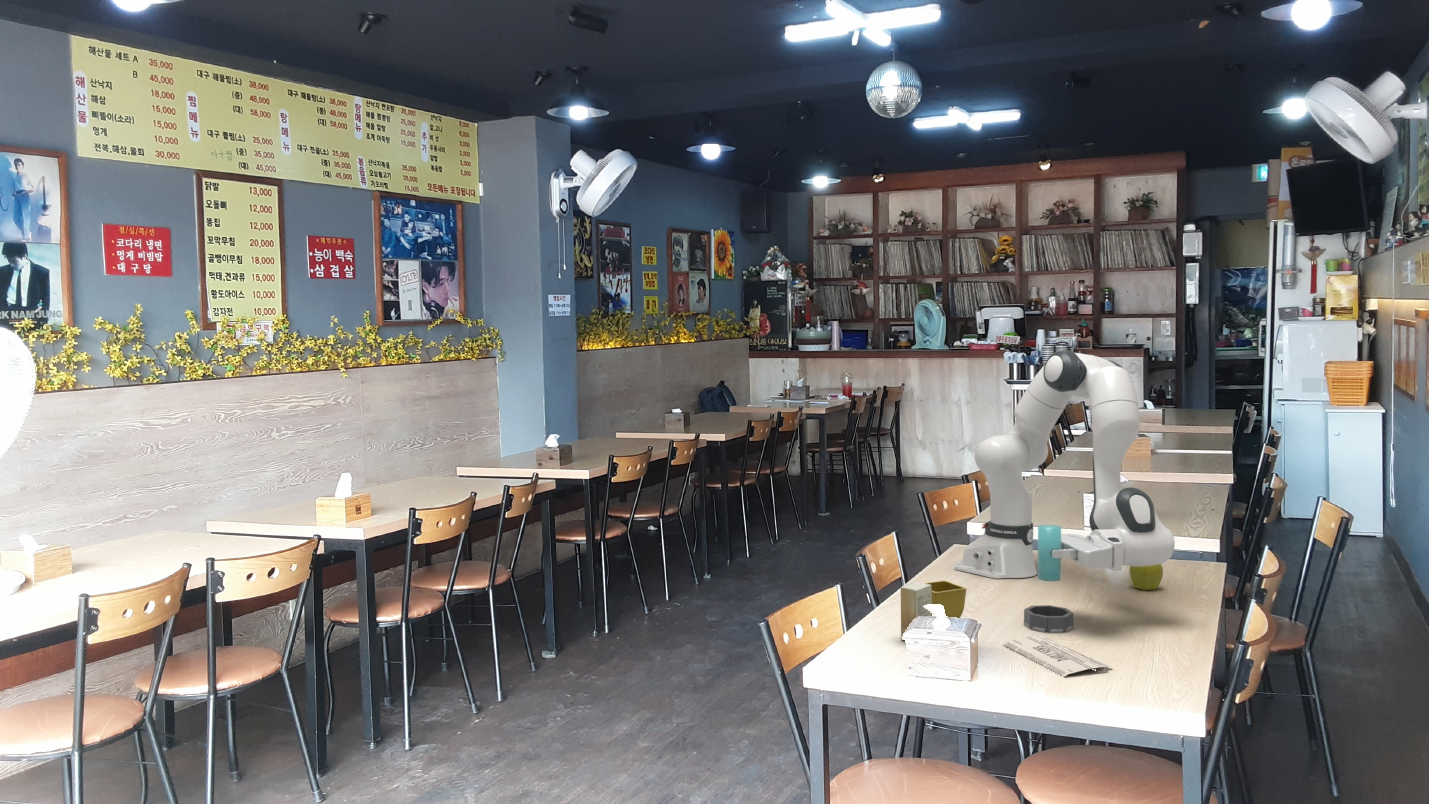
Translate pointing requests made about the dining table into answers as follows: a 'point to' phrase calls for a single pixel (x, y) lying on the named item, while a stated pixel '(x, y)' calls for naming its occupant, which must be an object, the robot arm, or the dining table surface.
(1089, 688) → the dining table surface
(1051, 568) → the teal pillar candle
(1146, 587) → the apple
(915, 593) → the skincare box
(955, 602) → the flower pot
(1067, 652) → the newspaper
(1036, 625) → the barrel ring
